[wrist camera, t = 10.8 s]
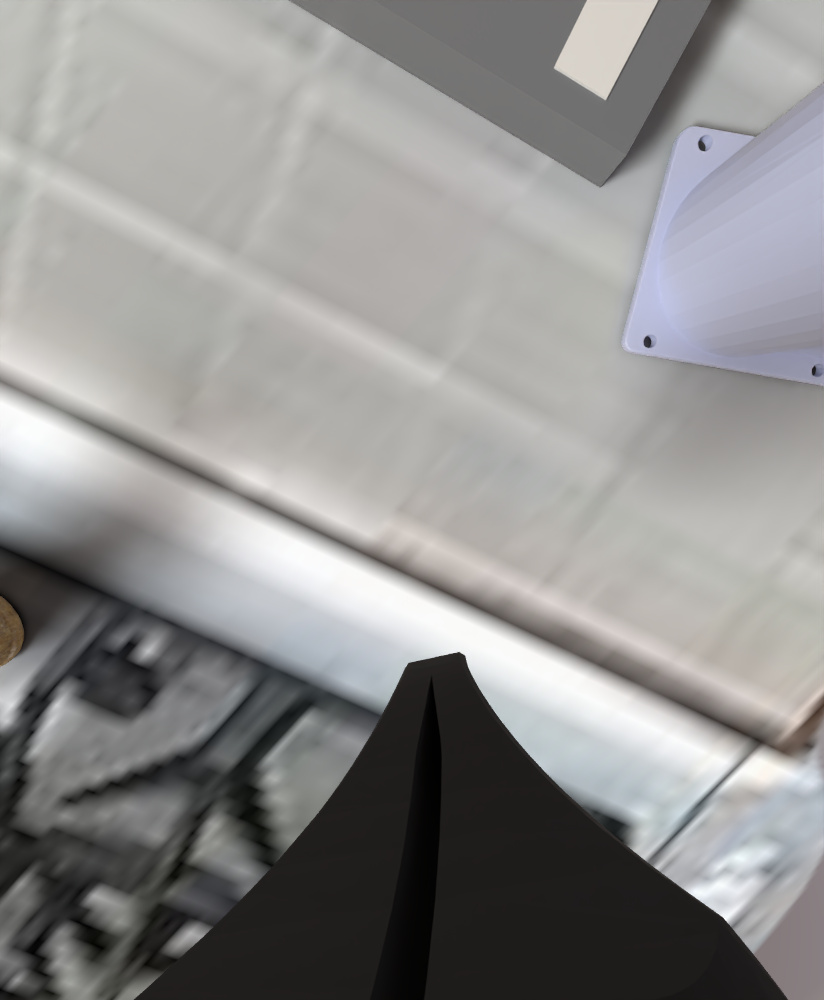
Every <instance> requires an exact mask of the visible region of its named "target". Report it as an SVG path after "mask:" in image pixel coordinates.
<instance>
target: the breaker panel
mask: <svg viewBox="0 0 824 1000" xmlns="http://www.w3.org/2000/svg"><path fill="white" fill-rule="evenodd" d="M290 1H291V2H293V3H295V4H296V5H298V6H300V7H301V8H303V9H305V10H306V11H308V12H310V13H311V14H313V15H315V16H316V17H318V18H320V19H321V20H323V21H325V22H326V23H328V24H330V25H331V26H333V27H335V28H336V29H338V30H339V31H341V32H343V33H344V34H346V35H348V36H349V37H351V38H353V39H354V40H356V41H358V42H359V43H361V44H363V45H364V46H366V47H368V48H369V49H371V50H373V51H374V52H376V53H378V54H379V55H381V56H383V57H384V58H386V59H388V60H389V61H391V62H393V63H394V64H396V65H398V66H399V67H401V68H403V69H404V70H406V71H408V72H409V73H411V74H413V75H414V76H416V77H418V78H419V79H421V80H423V81H424V82H426V83H428V84H429V85H431V86H433V87H434V88H436V89H438V90H439V91H441V92H443V93H444V94H446V95H448V96H449V97H451V98H453V99H454V100H456V101H458V102H459V103H461V104H463V105H464V106H466V107H468V108H469V109H471V110H473V111H474V112H476V113H478V114H479V115H481V116H483V117H484V118H486V119H488V120H489V121H491V122H492V123H494V124H496V125H497V126H499V127H501V128H502V129H504V130H506V131H507V132H509V133H511V134H512V135H514V136H516V137H517V138H519V139H521V140H522V141H524V142H526V143H527V144H529V145H531V146H532V147H534V148H536V149H537V150H539V151H541V152H542V153H544V154H546V155H547V156H549V157H551V158H552V159H554V160H556V161H557V162H559V163H561V164H562V165H564V166H566V167H567V168H569V169H571V170H572V171H574V172H576V173H577V174H579V175H581V176H582V177H584V178H586V179H587V180H589V181H591V182H592V183H594V184H596V185H597V186H599V187H601V186H602V185H603V183H604V182H605V181H606V180H607V178H608V177H609V176H610V175H611V174H612V172H613V171H614V170H615V169H616V167H617V166H618V165H619V164H620V163H621V161H622V160H623V159H624V158H625V156H626V155H627V153H628V152H629V150H630V148H631V146H632V144H633V142H634V141H635V139H636V137H637V135H638V133H639V132H640V130H641V128H642V126H643V124H644V122H645V121H646V119H647V117H648V115H649V113H650V112H651V110H652V108H653V106H654V104H655V102H656V101H657V99H658V97H659V95H660V93H661V91H662V90H663V88H664V86H665V84H666V82H667V81H668V79H669V77H670V75H671V73H672V71H673V70H674V68H675V66H676V64H677V62H678V60H679V59H680V57H681V55H682V53H683V51H684V50H685V48H686V46H687V44H688V42H689V40H690V39H691V37H692V35H693V33H694V31H695V29H696V28H697V26H698V24H699V22H700V20H701V19H702V17H703V15H704V13H705V11H706V9H707V8H708V6H709V4H710V2H711V0H290Z"/></svg>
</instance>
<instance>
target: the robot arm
mask: <svg viewBox="0 0 824 1000" xmlns="http://www.w3.org/2000/svg"><path fill="white" fill-rule="evenodd" d="M698 141H701V142H703V143H704V144H705V146H706V149H705V151H701V150H700V149H699V147H698ZM646 336H648V337H650V338H651V345H650V347H649V348H647V347H645V346H644V344H643V342H644V338H645V337H646ZM622 346H623V348H624V349H625V351H627V352H629V353H633V354H639V355H645V356H651V357H657V358H662V359H668V360H674V361H680V362H686V363H692V364H697V365H703V366H709V367H715V368H721V369H726V370H732V371H738V372H744V373H750V374H756V375H761V376H767V377H773V378H779V379H785V380H790V381H796V382H802V383H808V384H814V385H820V386H824V82H823V83H822V84H821V85H820V86H818V87H817V88H816V89H815V90H813V91H812V92H811V93H810V94H808V95H807V96H806V97H805V98H803V99H802V100H801V101H800V102H798V103H797V104H796V105H795V106H793V107H792V108H791V109H790V110H788V111H787V112H786V113H785V114H783V115H782V116H781V117H780V118H779V119H777V120H776V121H775V122H774V123H772V124H771V125H770V126H769V127H767V128H766V129H765V130H764V131H762V132H761V133H760V134H759V135H757V136H750V135H745V134H739V133H733V132H728V131H722V130H717V129H711V128H705V127H700V126H689V127H687V128H685V129H684V130H683V131H682V132H681V133H680V134H679V135H678V137H677V138H676V139H675V141H674V144H673V147H672V151H671V155H670V158H669V162H668V166H667V170H666V174H665V177H664V181H663V185H662V189H661V193H660V196H659V200H658V204H657V208H656V211H655V215H654V219H653V223H652V227H651V230H650V234H649V238H648V242H647V246H646V249H645V253H644V257H643V261H642V264H641V268H640V272H639V276H638V280H637V283H636V287H635V291H634V295H633V299H632V302H631V306H630V310H629V314H628V318H627V321H626V325H625V329H624V333H623V336H622ZM814 366H815V367H816V373H815V374H814V375H812V373H811V372H812V368H813V367H814ZM134 1000H788V999H787V998H786V996H785V995H784V993H783V992H782V991H781V990H780V988H779V987H778V985H777V984H776V983H775V982H774V980H773V979H772V978H771V976H770V975H769V974H768V972H767V971H766V970H765V969H764V967H763V966H762V965H761V964H760V962H759V961H758V960H757V958H756V957H755V956H754V955H753V953H752V952H751V951H750V950H749V949H748V947H747V946H746V945H745V944H744V942H743V941H742V940H741V939H740V937H739V936H738V935H737V934H736V933H735V931H734V930H733V929H732V928H731V927H730V925H729V924H728V923H727V922H726V921H725V919H724V918H723V917H721V916H720V915H719V914H717V913H716V912H715V911H713V910H712V909H710V908H709V907H707V906H706V905H705V904H703V903H702V902H700V901H699V900H698V899H696V898H695V897H693V896H692V895H691V894H689V893H688V892H686V891H685V890H684V889H682V888H681V887H679V886H678V885H677V884H675V883H674V882H673V881H671V880H670V879H669V878H667V877H666V876H665V875H663V874H662V873H661V872H659V871H658V870H657V869H655V868H654V867H653V866H651V865H650V864H649V863H647V862H646V861H645V860H644V859H642V858H641V857H640V856H639V855H637V854H636V853H635V852H634V851H632V850H631V849H630V848H629V847H627V846H626V845H625V844H624V843H622V842H621V841H620V840H619V839H617V838H616V837H615V836H614V835H612V834H611V833H610V832H609V831H608V830H607V829H606V828H605V827H603V826H602V825H601V824H600V823H599V822H598V821H597V820H596V819H594V818H593V817H592V816H591V815H590V814H589V813H588V812H587V811H585V810H584V809H583V808H582V807H581V806H580V805H579V804H578V803H576V802H575V801H574V800H573V799H572V798H571V797H570V796H569V795H567V794H566V793H565V792H564V791H563V790H562V789H561V788H560V787H559V786H558V785H557V784H556V783H555V782H554V781H553V780H552V779H551V778H550V777H549V776H548V775H547V774H546V773H545V772H544V771H543V770H542V768H541V767H540V766H539V765H538V764H537V763H536V762H535V761H534V760H533V759H532V758H531V757H530V756H529V754H528V753H527V752H526V751H525V750H524V749H523V748H522V746H521V745H520V744H519V743H518V742H517V740H516V739H515V738H514V737H513V735H512V734H511V733H510V732H509V730H508V729H507V728H506V727H505V725H504V724H503V723H502V721H501V720H500V719H499V717H498V716H497V715H496V713H495V712H494V710H493V709H492V707H491V706H490V705H489V703H488V702H487V700H486V699H485V697H484V696H483V694H482V692H481V691H480V689H479V688H478V686H477V684H476V682H475V680H474V678H473V677H472V675H471V673H470V670H469V668H468V665H467V661H466V658H465V655H463V654H461V653H460V652H457V653H453V654H448V655H444V656H439V657H434V658H430V659H425V660H420V661H416V662H411V663H408V665H407V666H406V668H405V670H404V672H403V674H402V676H401V678H400V680H399V683H398V685H397V687H396V689H395V691H394V693H393V695H392V697H391V699H390V701H389V703H388V705H387V707H386V708H385V710H384V712H383V714H382V716H381V718H380V719H379V721H378V723H377V725H376V727H375V729H374V730H373V732H372V734H371V736H370V737H369V739H368V741H367V742H366V744H365V745H364V747H363V749H362V750H361V752H360V754H359V755H358V757H357V758H356V760H355V762H354V763H353V765H352V767H351V768H350V770H349V771H348V773H347V774H346V776H345V777H344V778H343V780H342V781H341V783H340V784H339V786H338V787H337V789H336V790H335V791H334V793H333V794H332V795H331V797H330V798H329V800H328V801H327V802H326V804H325V805H324V806H323V808H322V809H321V810H320V811H319V813H318V814H317V815H316V816H315V818H314V819H313V820H312V821H311V822H310V824H309V825H308V826H307V827H306V828H305V829H304V831H303V832H302V833H301V834H300V835H299V837H298V838H297V839H296V840H295V841H294V842H293V844H292V845H291V846H290V847H289V848H288V849H287V851H286V852H285V853H284V854H283V855H282V857H281V858H280V859H279V860H278V861H277V862H276V863H275V865H274V866H273V867H272V868H271V869H270V870H269V871H268V872H267V873H266V874H265V875H264V876H263V877H262V878H261V880H260V881H259V882H258V883H257V884H256V885H255V886H254V887H253V888H252V889H251V890H250V891H249V892H248V893H247V894H246V895H245V896H244V897H243V898H242V899H241V900H240V901H239V902H238V903H237V904H236V905H235V906H234V907H233V908H232V909H231V910H230V911H229V912H228V913H227V914H226V915H225V916H224V917H223V918H222V919H221V920H220V921H219V922H218V923H217V924H216V925H215V926H214V927H213V928H212V929H211V930H210V931H209V932H208V933H207V934H206V935H205V936H204V937H203V938H202V939H200V940H199V941H198V942H197V943H196V944H195V945H194V946H193V947H192V948H191V949H189V950H188V951H187V952H186V953H185V954H184V955H183V956H182V957H181V958H180V959H178V960H177V961H176V962H175V963H174V964H173V965H172V966H171V967H170V968H169V969H167V970H166V971H165V972H164V973H163V974H162V975H161V976H160V977H159V978H158V979H156V980H155V981H154V982H153V983H152V984H151V985H150V986H149V987H148V988H147V989H145V990H144V991H143V992H142V993H141V994H140V995H139V996H137V997H136V998H135V999H134Z"/></svg>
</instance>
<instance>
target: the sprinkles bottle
mask: <svg viewBox="0 0 824 1000" xmlns="http://www.w3.org/2000/svg"><path fill="white" fill-rule="evenodd" d="M23 640H24V630H23V626H22V623H21V620H20V618H19V616H18V614H17V613H16V611H15V610H14V609H13V607H12V606H11V605H10V604H9V603H8V602H7V601H6V600H5V599H4V598H3V597H1V596H0V666H2V665H4V664H6V663H8V662H9V661H10V660H12V659H13V658H14V657H15V656H16V654H17V653H18V652H19V651H20V649H21V648H22V643H23Z"/></svg>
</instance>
